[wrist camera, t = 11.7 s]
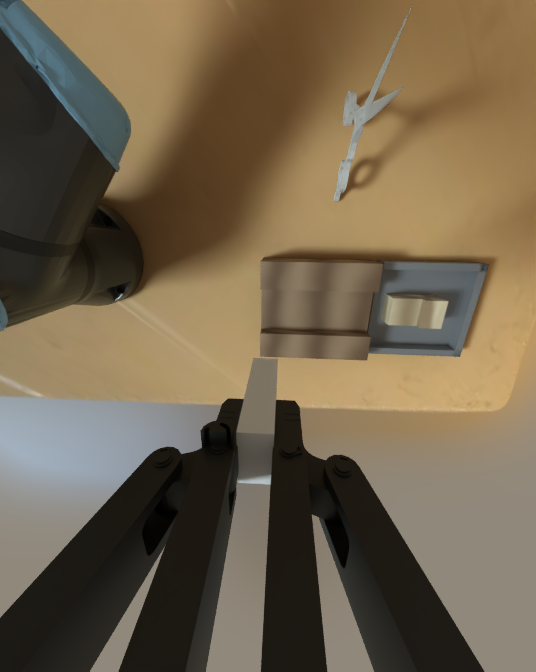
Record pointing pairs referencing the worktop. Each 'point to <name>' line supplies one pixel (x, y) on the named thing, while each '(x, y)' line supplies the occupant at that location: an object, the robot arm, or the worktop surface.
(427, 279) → the tray
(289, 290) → the slot board
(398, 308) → the cream square block
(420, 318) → the chip
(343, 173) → the scissors
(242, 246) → the worktop surface
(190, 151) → the worktop surface
